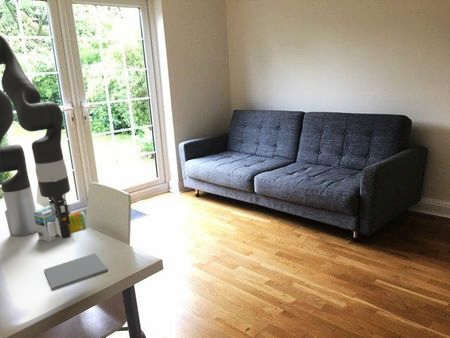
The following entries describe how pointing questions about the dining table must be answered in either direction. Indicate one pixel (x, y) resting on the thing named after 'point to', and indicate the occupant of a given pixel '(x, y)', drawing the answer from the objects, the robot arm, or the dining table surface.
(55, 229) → the supplement bottle
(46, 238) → the light bulb box
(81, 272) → the placemat
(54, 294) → the dining table surface
